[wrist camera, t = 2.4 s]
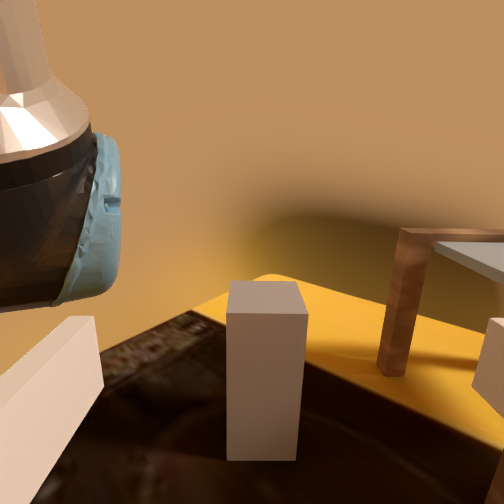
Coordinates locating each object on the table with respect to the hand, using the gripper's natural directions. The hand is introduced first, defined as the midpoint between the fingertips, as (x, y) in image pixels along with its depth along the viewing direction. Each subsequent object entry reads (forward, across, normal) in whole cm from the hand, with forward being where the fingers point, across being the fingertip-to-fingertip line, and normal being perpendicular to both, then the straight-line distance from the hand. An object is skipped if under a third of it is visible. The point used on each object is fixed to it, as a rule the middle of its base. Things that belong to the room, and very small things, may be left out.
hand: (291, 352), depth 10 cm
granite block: (+10, 0, -15) cm, 18 cm away
